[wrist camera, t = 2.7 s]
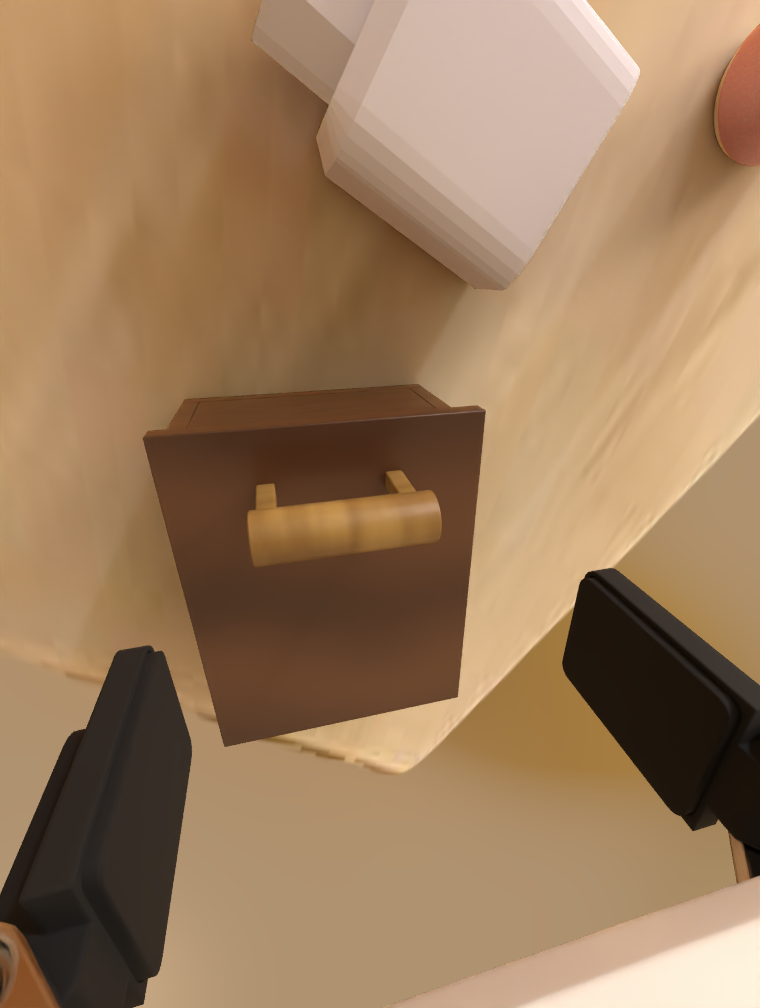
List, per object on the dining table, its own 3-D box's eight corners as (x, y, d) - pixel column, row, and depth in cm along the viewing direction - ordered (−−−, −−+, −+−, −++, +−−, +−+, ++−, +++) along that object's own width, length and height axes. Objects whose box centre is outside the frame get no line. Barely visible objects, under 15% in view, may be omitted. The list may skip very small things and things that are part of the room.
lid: (146, 430, 16) (103, 490, 12) (478, 404, 18) (546, 446, 14) (225, 733, 23) (217, 840, 19) (452, 686, 26) (492, 770, 22)
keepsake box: (184, 399, 23) (152, 451, 16) (418, 384, 26) (475, 423, 19) (233, 630, 30) (225, 732, 23) (412, 600, 33) (452, 685, 26)
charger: (284, -225, 15) (577, 102, 21) (182, 75, 18) (469, 288, 24) (293, -411, 11) (653, 60, 17) (158, 15, 14) (512, 291, 20)
